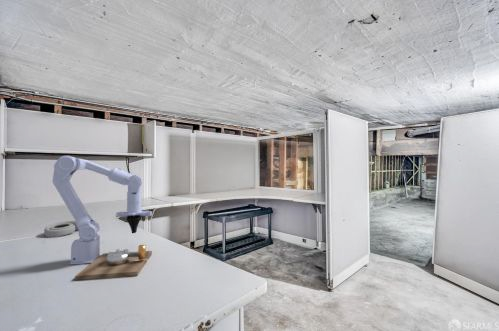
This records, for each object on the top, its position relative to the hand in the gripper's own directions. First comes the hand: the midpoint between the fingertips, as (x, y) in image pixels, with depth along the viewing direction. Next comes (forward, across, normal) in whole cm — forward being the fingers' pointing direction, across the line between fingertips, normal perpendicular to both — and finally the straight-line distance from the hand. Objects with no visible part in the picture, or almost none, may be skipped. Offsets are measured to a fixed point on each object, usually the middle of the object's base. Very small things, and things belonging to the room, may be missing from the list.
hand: (134, 232), depth 108 cm
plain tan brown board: (+9, -2, -13) cm, 16 cm away
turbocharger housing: (+10, -53, +44) cm, 69 cm away
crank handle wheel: (+8, +1, -13) cm, 15 cm away
